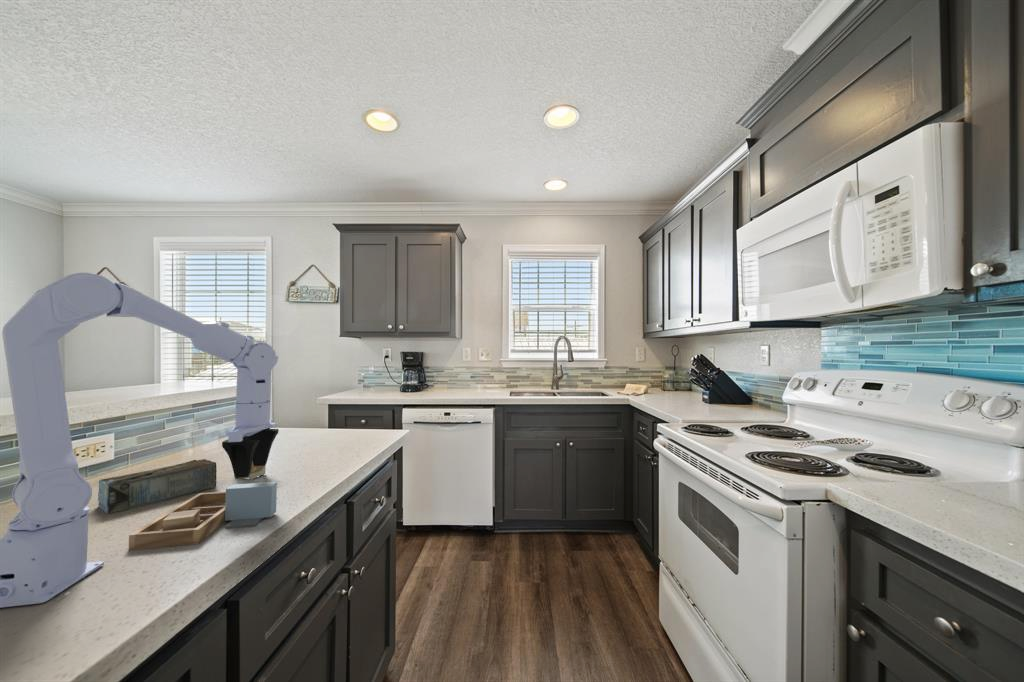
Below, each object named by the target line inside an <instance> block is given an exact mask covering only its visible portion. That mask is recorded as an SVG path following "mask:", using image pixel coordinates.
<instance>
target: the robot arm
mask: <svg viewBox="0 0 1024 682" xmlns="http://www.w3.org/2000/svg"><path fill="white" fill-rule="evenodd" d="M103 315H106V318H107V317H109V318H111V317H112V318H113V317H115V318H136V319H139V320H142V321H144V322H146V323H150V324H151V325H152V324H153V325H155V326H157V327H160V328H163V329H164V330H167V331H171V332H173V333H176V334H178V335H181V336H182V337H183V336H184V337H186V338H188V339H190V342H191V343H192V345H193V347H194V349H195V350H198V351H201V352H203V353H206V354H208V355H210V356H213V357H215V358H218V359H220V360H223V361H225V362H228V363H230V364H233V365H232V366H234V367H235V368H236V369H237V373H236V375H237V376H236V393H235V394H236V396H235V420H234V421H235V422H234V424H235V425H234V426H233V427H232V429H231V430H230V431H228V433H227V435H228V437H227V439H225V440H223V441H222V442H221V447H222V448H223V450H224V451H225V452H226V454H227V456H228V458H229V461H230V463H231V468H232V471H233V476H234V475H235V477H234V478H235V479H243V478H242V477H248V476H249V474H250V471H251V466H252V461H253V465H254V466H265V465H266V466H267V462H268V460H269V456H270V453H271V449H272V445H273V444H274V441H275V439H276V437H277V435H278V434H279V428H276V427H277V422H274V418H271V399H272V397H271V393H272V370H273V368H274V367H275V366H276V364H277V363H278V360H279V356H277V354H276V350H275V349H274V348H273V346H271V345H270V344H269V343H266V342H255V340H254V338H255V337H254V336H252V335H250V334H247V335H245V334H242V333H240V332H238V331H235V330H234V329H232V328H229V327H230V324H229V323H227V322H225V321H220V322H217V321H214V320H212V321H207V322H203V323H202V322H201V321H199V320H196V319H195V318H192V317H191V316H189V315H187V314H184V313H183V312H180V311H179V310H177V309H175V308H172V306H169V305H166V303H162V302H160V301H159V300H157V299H155V298H153V297H151V296H149V295H147V294H146V293H143V292H141V291H139V290H137V289H135V288H133V287H130V286H128V285H126V284H124V283H120V282H113V281H112V280H110V279H109V278H107V277H106V276H103V275H101V274H97V273H93V272H75V273H71V274H69V275H65V276H64V277H62V278H59V279H58V280H56V281H54V282H52V283H49V284H48V285H46V286H44V287H43V288H41V289H38V290H37V291H36V292H34V293H33V294H32V296H31V297H30V298H29V299H28V300H27V301H26V302H25V304H24V305H22V306H21V307H20V309H19V310H17V311H16V312H15V314H14V315H12V316H11V318H9V320H8V321H7V322H6V323H5V324H4V325H3V327H2V331H1V333H2V334H1V335H2V340H3V342H2V343H3V348H4V355H5V362H6V368H7V375H8V383H9V389H10V395H11V396H10V397H11V402H12V403H11V404H12V410H13V417H14V424H15V429H16V435H17V436H16V437H17V444H18V451H19V464H18V466H19V478H18V480H17V482H16V484H15V485H14V487H13V489H12V491H11V493H12V494H11V497H12V501H13V502H14V504H15V505H16V506H17V507H18V508H19V509H20V510H19V512H18V513H17V514H16V515H15V516H14V518H12V520H10V521H9V523H8V529H7V531H6V533H5V534H4V535H3V536H2V537H1V538H0V609H1V608H10V607H17V606H19V607H20V606H27V605H36V604H37V605H38V604H42V603H45V602H48V601H49V600H51V599H52V598H54V597H56V596H57V595H59V594H60V593H62V592H63V591H65V590H66V589H68V588H70V587H71V586H73V585H75V584H76V583H77V582H79V581H81V580H82V579H83V578H85V577H86V576H88V575H90V574H91V573H93V572H95V571H96V570H98V569H99V568H100V567H102V566H104V564H105V561H104V560H102V561H101V560H100V561H92V562H90V561H89V562H88V546H89V545H88V542H89V541H88V539H89V519H90V518H89V517H90V512H89V511H90V507H89V506H88V504H90V503H89V502H90V501H91V500H92V497H93V496H92V495H93V488H92V486H91V484H90V482H89V481H87V480H86V479H85V478H84V477H83V476H82V475H81V473H80V470H79V463H78V460H77V457H76V454H75V452H74V449H73V442H72V434H71V427H70V420H69V414H68V406H67V398H66V397H67V396H66V392H65V385H64V383H65V382H64V377H63V369H62V362H61V354H60V348H59V340H60V339H61V338H63V337H65V335H66V336H67V334H69V333H70V332H71V331H73V330H75V328H77V327H79V326H80V324H83V323H85V322H88V321H90V320H94V319H95V318H98V317H101V316H103Z"/></svg>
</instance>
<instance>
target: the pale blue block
mask: <svg viewBox="0 0 1024 682" xmlns="http://www.w3.org/2000/svg"><path fill="white" fill-rule="evenodd" d="M277 485H278V481H272V482H271V481H270V482H268V481H267V482H256V483H255V482H253V483H240V484H231V485H229V486H228V487H226V488H225V492H226V500H225V504H224V505H225V521H226V520H227V521H232V520H239V519H251V518H263V519H265V518H272V517H273V516H274V514H275V513H276V512H277V498H278V497H277V493H278V487H277ZM227 521H226V522H227Z"/></svg>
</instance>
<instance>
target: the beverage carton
mask: <svg viewBox="0 0 1024 682" xmlns="http://www.w3.org/2000/svg"><path fill="white" fill-rule="evenodd" d="M217 470H218V469H217V462H215V461H212V460H210V459H209V460H208V459H205V458H203V459H193V460H190V461H186V462H183V463H177V464H174V465H170V466H164V467H158V468H155V469H149V470H145V471H139V472H134V473H130V474H125V475H119V476H112V477H108V478H101V479H99V481H98V491H97V492H98V493H97V503H98V506H97V507H98V508H99V507H100V509H101V510H102V511H104V513H106V514H108V515H109V514H112V513H116V512H117V513H118V512H121V511H125V510H129V509H134V508H138V507H142V506H146V505H150V504H155V503H157V502H161V501H166V500H170V499H174V498H178V497H181V496H185V495H189V494H193V493H197V492H200V491H206V490H210V489H213V487H214V488H217ZM209 488H210V489H209Z"/></svg>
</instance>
